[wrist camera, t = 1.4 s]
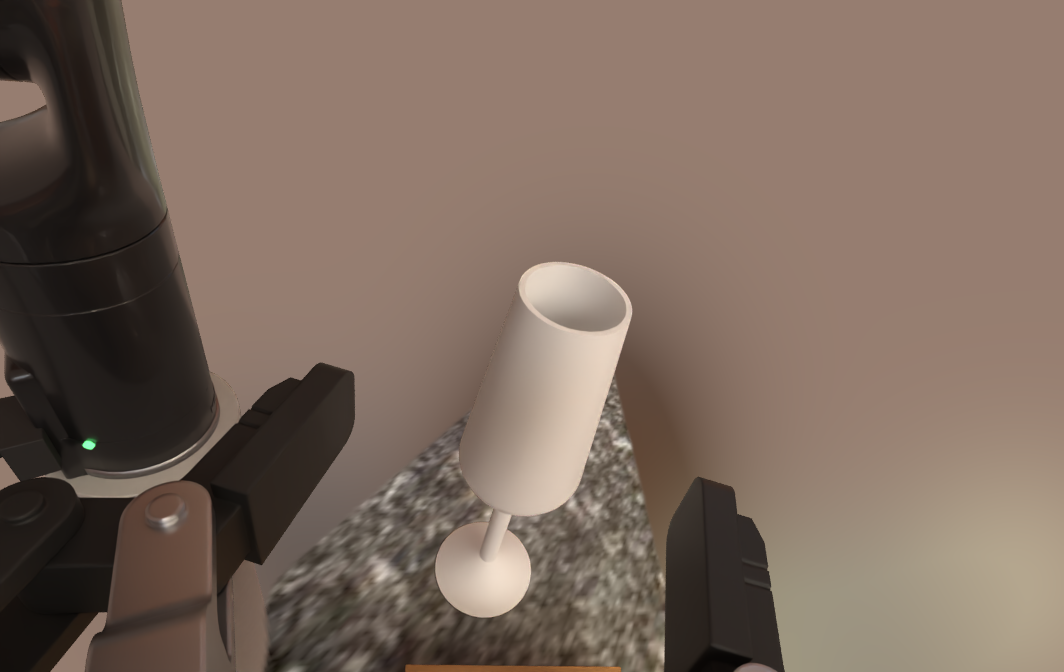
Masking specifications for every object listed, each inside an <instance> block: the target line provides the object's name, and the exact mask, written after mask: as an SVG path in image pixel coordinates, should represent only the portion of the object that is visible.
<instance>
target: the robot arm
mask: <svg viewBox="0 0 1064 672" xmlns="http://www.w3.org/2000/svg"><path fill="white" fill-rule="evenodd" d="M0 80H5V81H19V82H23V81H25V82H32V83H36V84H37V85H38V86H39V87H40V89H41V90H42V92H43V95H44V97H45V99H46V105H45V106H43V107H41V108H39V109H37V110H35V111H33V112H31V113H29V114H26V115H24V116H21V117H18V118H15V119H11V120H7V121H4V122H0V344H1V346H2V347H3V349H4V351H5V380H6V382H7V384H8V386H9V387H10V389H11V390H12V392H13V394H14V396H10V397H5V398H1V399H0V458H1V457H3V458H4V459H5V461H6V462H7V464H8V465H9V466H10V468H11V469H12V470H13V472H14V473H15V475H16V476H17V477H18V479H19V480H20V481H21V482H18V483H15V484H13V485H10V486H8V487H6V488H4V489H2V490H0V672H50V671H51V670H52V669H53V668H54V666H55V665H56V664H57V662H58V661H59V660H60V659H61V658H62V656H63V655H64V654H65V653H66V652H67V650H68V649H69V648H70V647H71V646H72V644H73V643H74V642H75V641H76V639H77V638H78V637H79V636H80V635H81V633H82V632H83V631H84V630H85V628H86V627H87V626H88V625H89V624H90V622H91V621H92V620H93V619H94V617H95V616H96V615H97V614H98V613H99V612H107V620H106V624H105V627H104V629H103V631H102V632H99V633H97V634H95V636H94V637H93V638H92V641H91V643H90V646H89V649H88V654H87V659H86V666H85V672H236V664H235V635H234V606H233V580H232V576H233V574H234V573H235V571H236V570H237V569H238V567H239V566H240V565H241V563H242V562H243V560H247V561H251V562H254V563H257V564H260V565H262V564H263V563H264V561H265V560H266V558H267V557H268V556H269V554H270V553H271V551H272V550H273V548H274V547H275V545H276V544H277V542H278V541H279V540H280V538H281V537H282V535H283V534H284V532H285V531H286V529H287V528H288V526H289V525H290V523H291V522H292V521H293V519H294V518H295V516H296V515H297V513H298V512H299V511H300V509H301V508H302V506H303V504H304V503H305V502H306V500H307V499H308V497H309V496H310V495H311V493H312V492H313V490H314V489H315V487H316V486H317V484H318V483H319V482H320V480H321V479H322V477H323V476H324V474H325V473H326V471H327V470H328V468H329V467H330V466H331V464H332V463H333V461H334V460H335V458H336V457H337V455H338V454H339V453H340V451H341V450H342V448H343V447H344V445H345V444H346V442H347V440H348V438H349V436H350V434H351V432H352V428H353V425H354V420H355V393H354V392H355V390H354V374H353V372H351V371H348V370H345V369H341V368H338V367H334V366H331V365H328V364H325V363H318V364H317V365H315V366H314V367H313V368H312V369H311V371H310V372H309V373H308V374H307V375H306V376H305V377H304V378H303V379H302V380H297V379H294V378H288V379H287V380H285V381H283V382H281V383H279V384H277V385H275V386H274V387H272V388H270V389H268V390H267V391H266V392H265V393H264V394H263V395H262V396H261V397H260V398H259V399H258V400H257V401H256V402H255V403H254V404H253V406H252V408H251V410H248V411H247V412H246V413H245V414H244V415H243V416H242V417H241V418H240V419H239V422H238V423H235V424H234V425H233V426H232V427H231V428H230V429H229V431H228V432H227V433H226V434H225V435H224V436H223V437H222V438H221V439H220V440H219V441H218V442H217V443H216V444H215V445H214V446H213V447H212V448H211V449H210V450H209V451H208V452H207V453H206V454H205V455H204V457H203V458H202V459H201V460H200V461H199V462H198V463H197V464H196V465H195V466H194V467H193V468H192V469H191V470H190V471H189V472H188V473H187V474H186V475H185V476H184V477H183V478H181V479H180V480H179V481H170V482H165V483H161V484H158V485H156V486H153V487H151V488H149V489H147V490H145V491H144V492H142V493H141V494H139V495H138V496H137V497H130V498H87V497H78V496H77V494H76V492H75V490H74V488H73V487H72V485H71V484H70V483H68V482H66V481H65V480H62V479H59V478H53V477H41V478H36V477H39V476H43V475H46V474H50V473H53V472H57V471H60V470H61V471H62V473H63V474H64V476H65V477H66V479H73V478H77V477H80V476H85V475H90V476H94V477H98V478H104V479H131V478H138V477H143V476H148V475H151V474H155V473H158V472H161V471H164V470H166V469H168V468H171V467H173V466H175V465H177V464H179V463H181V462H182V461H184V460H186V459H187V458H189V457H190V456H192V455H193V454H194V453H196V452H197V451H198V450H199V449H200V448H201V447H202V446H203V445H204V444H205V443H206V442H207V441H208V440H209V438H210V437H211V436H212V434H213V433H214V431H215V429H216V427H217V424H218V422H219V417H220V406H219V402H218V398H217V395H216V392H215V389H214V385H213V382H212V380H211V376H210V373H209V369H208V364H207V360H206V357H205V353H204V349H203V345H202V341H201V338H200V333H199V329H198V325H197V322H196V318H195V314H194V310H193V306H192V302H191V299H190V294H189V290H188V287H187V283H186V279H185V275H184V271H183V267H182V263H181V259H180V255H179V251H178V248H177V244H176V240H175V236H174V232H173V228H172V224H171V221H170V217H169V213H168V209H167V205H166V200H165V196H164V193H163V189H162V185H161V182H160V177H159V173H158V169H157V165H156V161H155V157H154V153H153V149H152V145H151V141H150V136H149V132H148V128H147V124H146V120H145V116H144V112H143V107H142V104H141V99H140V95H139V91H138V86H137V81H136V76H135V71H134V66H133V62H132V56H131V51H130V46H129V40H128V35H127V29H126V24H125V18H124V13H123V7H122V2H121V0H0ZM32 478H33V479H32ZM767 568H768V563H767V556H766V550H765V543H764V541H763V539H762V537H761V535H760V533H759V531H758V530H757V528H756V526H755V524H754V522H753V520H752V519H751V518H748V517H745V516H742V515H739V514H737V508H736V499H735V492H734V489H733V488H732V487H731V486H727V485H724V484H721V483H717V482H714V481H711V480H707V479H704V478H701V477H697V478H695V480H694V481H693V483H692V484H691V486H690V488H689V489H688V491H687V493H686V495H685V496H684V498H683V500H682V501H681V503H680V505H679V507H678V508H677V510H676V512H675V514H674V516H673V517H672V520H671V522H670V526H669V529H668V535H667V542H666V598H665V662H664V672H785V671H784V666H783V660H782V654H781V647H780V642H779V634H778V628H777V621H776V615H775V608H774V602H773V595H772V591H770V588H771V582H770V576H769V571H767Z"/></svg>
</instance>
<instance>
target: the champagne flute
mask: <svg viewBox="0 0 1064 672" xmlns="http://www.w3.org/2000/svg"><path fill="white" fill-rule="evenodd" d="M631 316H632V306H631V303H630V300H629V298H628V296H627V295H626V294H625V292H624V291H623V290H622V289H621V288H620V286H618V284H616V283H615V282H614V281H612V280H611V279H610V278H608V277H607V276H604V275H603V274H602V273H599V272H597V271H595V270H593V269H590V268H588V267H584V266H581V265H577V264H573V263H565V262H549V263H542V264H539V265H536V266H534V267H532V268H530V269H528V270H527V271H526V272H525V273H524V274H523V275H522V277H521V279H520V281H519V284H518V286H517V289H516V292H515V295H514V297H513V300H512V303H511V306H510V308H509V311H508V313H507V316H506V319H505V322H504V324H503V327H502V330H501V332H500V335H499V338H498V340H497V344H496V346H495V349H494V351H493V354H492V357H491V359H490V362H489V365H488V368H487V370H486V373H485V376H484V378H483V381H482V384H481V386H480V389H479V392H478V394H477V397H476V400H475V403H474V405H473V408H472V411H471V413H470V416H469V419H468V421H467V424H466V427H465V430H464V432H463V435H462V438H461V442H460V446H459V461H460V466H461V470H462V474H463V476H464V478H465V480H466V482H467V484H468V485H469V487H470V488H471V489H472V490H473V492H474V493H475V494H476V495H477V497H479V498H480V499H481V500H482V501H483V502H484V503H485V504H487V505H488V506H490V507H492V508H493V512H492V515H491V518H490V521H489V523H488V522H475V523H470V524H467V525H464V526H462V527H460V528H458V529H456V530H455V531H453V532H452V533H451V534H450V535H449V536H448V537H447V538H446V539H445V541H444V542H443V543H442V545H441V547H440V549H439V551H438V553H437V558H436V562H435V574H436V579H437V583H438V585H439V588H440V590H441V592H442V594H443V595H444V597H445V598H446V600H447V601H448V602H449V603H450V604H451V605H452V606H453V607H455V608H456V609H458V610H459V611H461V612H463V613H465V614H468V615H470V616H475V617H481V618H483V617H494V616H498V615H501V614H503V613H505V612H508V611H510V610H511V609H512V608H513V607H515V606H516V605H517V604H518V603H519V602H520V600H521V599H522V598H523V597H524V595H525V593H526V591H527V589H528V586H529V582H530V576H531V567H530V560H529V557H528V554H527V551H526V549H525V548H524V546H523V544H522V543H521V541H520V540H519V539H518V538H517V537H516V536H515V535H514V534H513V533H512V532H510V531H509V530H507V526H508V524H509V521H510V518H511V516H512V515H514V516H534V515H539V514H544V513H547V512H550V511H552V510H554V509H556V508H558V507H559V506H561V505H562V504H564V503H565V502H566V501H567V500H568V499H569V498H570V497H571V496H572V494H573V493H574V492H575V491H576V489H577V487H578V485H579V483H580V480H581V477H582V474H583V471H584V467H585V464H586V461H587V458H588V455H589V451H590V448H591V445H592V442H593V439H594V435H595V432H596V429H597V426H598V423H599V419H600V416H601V413H602V410H603V407H604V403H605V400H606V397H607V394H608V391H609V387H610V384H611V381H612V378H613V375H614V371H615V368H616V365H617V362H618V358H619V355H620V352H621V349H622V345H623V343H624V339H625V336H626V333H627V330H628V327H629V323H630V320H631Z"/></svg>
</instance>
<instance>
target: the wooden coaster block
mask: <svg viewBox="0 0 1064 672" xmlns="http://www.w3.org/2000/svg"><path fill="white" fill-rule="evenodd" d="M404 672H621V668H620V667H588V666H493V665H406V666H405V671H404Z"/></svg>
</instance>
